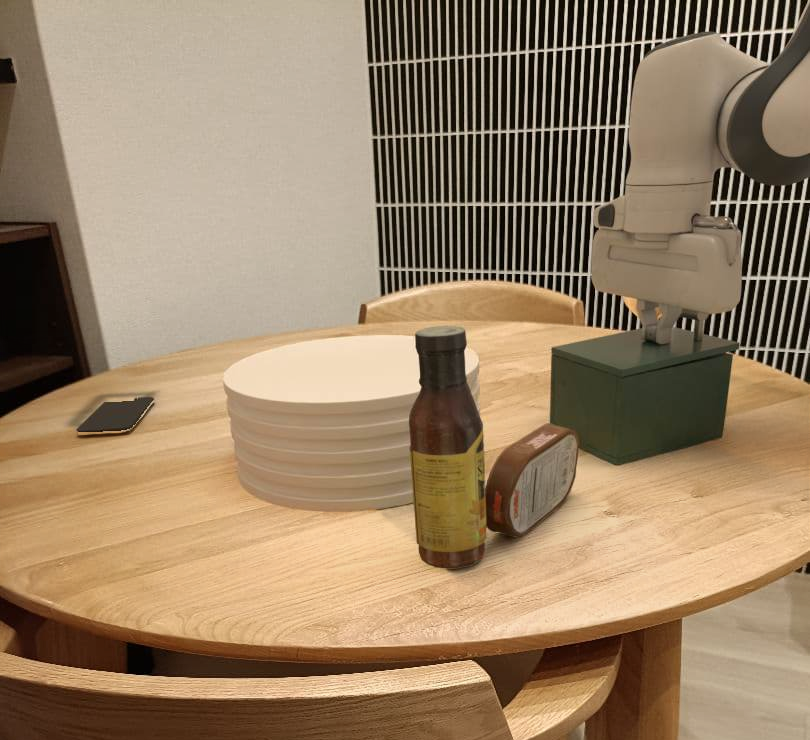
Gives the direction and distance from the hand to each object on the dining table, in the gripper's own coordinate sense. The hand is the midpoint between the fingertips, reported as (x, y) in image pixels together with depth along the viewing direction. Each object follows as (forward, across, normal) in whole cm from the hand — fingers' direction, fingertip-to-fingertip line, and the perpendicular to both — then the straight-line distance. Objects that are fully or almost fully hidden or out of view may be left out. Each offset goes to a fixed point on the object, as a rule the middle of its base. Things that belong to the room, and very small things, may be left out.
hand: (655, 341), depth 94 cm
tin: (+11, -13, +25) cm, 30 cm away
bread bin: (+11, 0, +2) cm, 11 cm away
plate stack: (+11, +11, +33) cm, 37 cm away
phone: (+11, +46, +55) cm, 73 cm away
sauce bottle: (+11, -15, +36) cm, 40 cm away
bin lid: (+1, 0, +2) cm, 2 cm away
